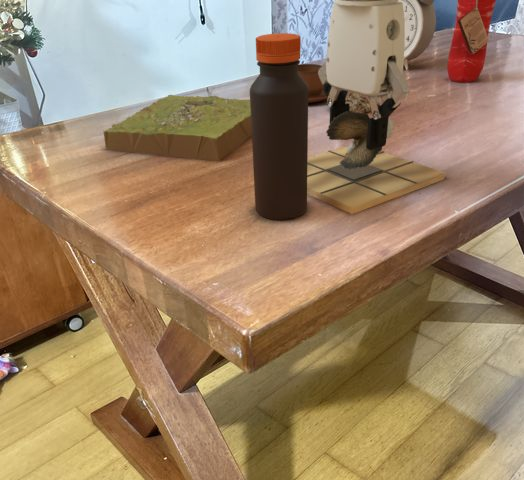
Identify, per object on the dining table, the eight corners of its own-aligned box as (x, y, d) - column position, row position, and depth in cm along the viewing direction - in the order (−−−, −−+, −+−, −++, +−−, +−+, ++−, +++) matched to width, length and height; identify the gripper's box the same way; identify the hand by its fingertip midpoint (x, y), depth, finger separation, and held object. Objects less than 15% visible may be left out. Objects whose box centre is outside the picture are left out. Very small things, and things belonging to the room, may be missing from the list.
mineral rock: (372, 104, 101) (332, 90, 101) (364, 127, 104) (325, 114, 104) (378, 92, 109) (340, 79, 110) (370, 113, 112) (334, 101, 113)
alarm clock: (358, 66, 138) (365, -39, 125) (376, 60, 143) (384, -42, 130) (417, 73, 130) (431, -40, 116) (433, 66, 135) (449, -43, 121)
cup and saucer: (292, 110, 108) (292, 77, 104) (268, 97, 117) (267, 66, 113) (344, 101, 112) (346, 69, 108) (316, 90, 121) (317, 59, 117)
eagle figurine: (337, 137, 81) (313, 143, 74) (368, 95, 76) (344, 97, 69) (374, 171, 80) (353, 181, 73) (407, 131, 76) (387, 137, 69)
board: (444, 179, 77) (445, 171, 76) (351, 214, 69) (352, 205, 68) (356, 149, 89) (356, 141, 88) (268, 176, 81) (268, 168, 80)
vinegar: (245, 215, 70) (234, 40, 58) (272, 196, 75) (267, 30, 62) (291, 225, 67) (289, 43, 55) (316, 205, 72) (320, 33, 59)
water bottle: (479, 88, 116) (507, -57, 100) (440, 87, 118) (462, -56, 103) (483, 76, 125) (509, -60, 109) (447, 74, 127) (468, -59, 111)
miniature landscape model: (105, 150, 94) (98, 120, 90) (172, 112, 110) (168, 86, 107) (218, 161, 87) (215, 129, 84) (271, 120, 104) (270, 92, 101)
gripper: (446, -11, 61) (423, 150, 72) (341, -18, 72) (335, 122, 83) (399, -4, 57) (382, 163, 68) (297, -13, 69) (296, 132, 80)
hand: (356, 139), depth 76 cm, fingers closed on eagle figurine, 6 cm apart
